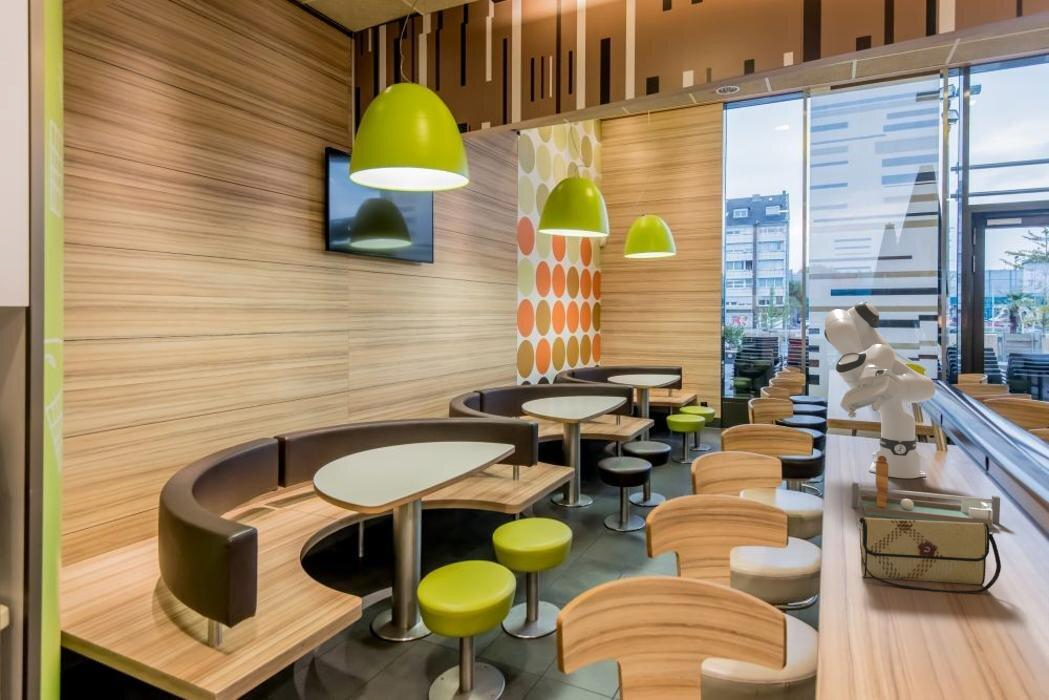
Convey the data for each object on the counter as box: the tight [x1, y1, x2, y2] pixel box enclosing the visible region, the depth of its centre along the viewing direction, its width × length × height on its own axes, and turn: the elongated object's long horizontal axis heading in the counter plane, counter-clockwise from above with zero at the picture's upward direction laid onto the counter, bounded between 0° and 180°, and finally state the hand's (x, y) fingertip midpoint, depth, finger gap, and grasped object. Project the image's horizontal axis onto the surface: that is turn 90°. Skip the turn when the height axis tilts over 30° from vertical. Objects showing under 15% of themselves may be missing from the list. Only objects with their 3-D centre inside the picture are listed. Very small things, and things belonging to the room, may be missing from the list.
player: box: [875, 456, 889, 508], centre depth 185 cm, size 4×3×16 cm
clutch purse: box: [855, 516, 1002, 594], centre depth 135 cm, size 30×7×15 cm, turn 79°
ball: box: [900, 498, 914, 510], centre depth 182 cm, size 4×4×4 cm
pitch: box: [851, 481, 1001, 530], centre depth 181 cm, size 13×38×8 cm, turn 65°
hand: (862, 413), depth 193 cm, fingers open, 8 cm apart
